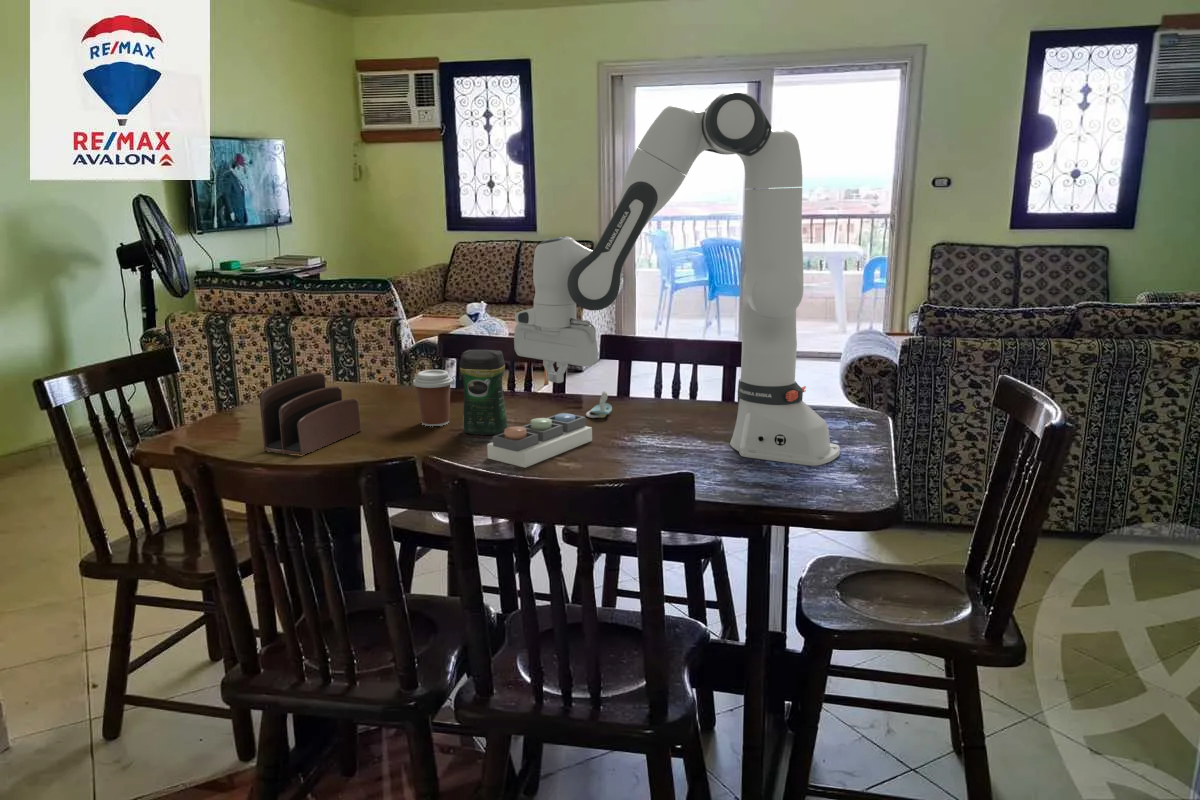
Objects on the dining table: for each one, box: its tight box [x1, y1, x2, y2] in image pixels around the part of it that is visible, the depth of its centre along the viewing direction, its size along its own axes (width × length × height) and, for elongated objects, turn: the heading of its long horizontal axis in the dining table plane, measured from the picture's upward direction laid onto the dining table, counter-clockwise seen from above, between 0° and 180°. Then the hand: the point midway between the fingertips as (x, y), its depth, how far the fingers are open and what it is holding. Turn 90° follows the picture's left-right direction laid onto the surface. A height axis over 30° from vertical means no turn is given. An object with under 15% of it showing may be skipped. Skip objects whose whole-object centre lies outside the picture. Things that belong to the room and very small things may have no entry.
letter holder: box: [259, 372, 362, 455], centre depth 180 cm, size 10×20×14 cm, turn 159°
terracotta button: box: [503, 426, 527, 440], centre depth 168 cm, size 4×4×2 cm
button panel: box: [487, 412, 593, 468], centre depth 175 cm, size 10×22×5 cm, turn 144°
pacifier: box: [585, 390, 613, 419], centre depth 201 cm, size 7×6×6 cm
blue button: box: [554, 413, 576, 422], centre depth 181 cm, size 4×4×2 cm
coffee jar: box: [459, 349, 508, 436], centre depth 187 cm, size 10×8×19 cm
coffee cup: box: [412, 369, 454, 428], centre depth 194 cm, size 9×9×12 cm
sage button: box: [529, 417, 552, 431], centre depth 174 cm, size 4×4×2 cm
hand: (555, 381), depth 177 cm, fingers closed
